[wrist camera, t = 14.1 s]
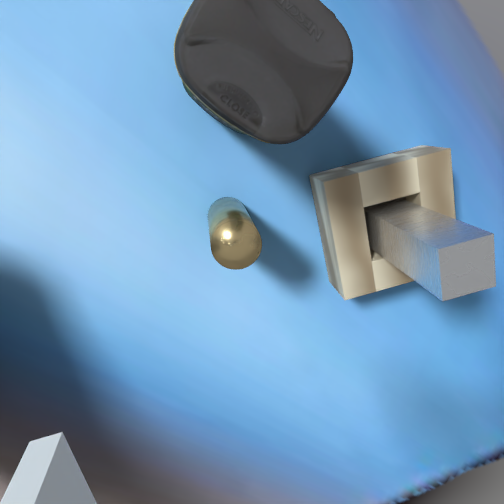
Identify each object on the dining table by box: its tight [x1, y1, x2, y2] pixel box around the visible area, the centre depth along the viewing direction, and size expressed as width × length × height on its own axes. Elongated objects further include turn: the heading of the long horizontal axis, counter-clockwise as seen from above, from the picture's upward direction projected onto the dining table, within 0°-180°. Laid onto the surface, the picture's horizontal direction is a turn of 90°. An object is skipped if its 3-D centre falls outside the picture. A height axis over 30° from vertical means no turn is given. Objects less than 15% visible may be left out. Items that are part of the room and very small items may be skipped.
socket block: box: [309, 145, 456, 300], centre depth 41 cm, size 12×12×5 cm
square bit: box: [364, 198, 496, 301], centre depth 35 cm, size 4×4×14 cm
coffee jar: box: [174, 0, 353, 144], centre depth 29 cm, size 10×8×19 cm
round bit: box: [208, 197, 262, 269], centre depth 37 cm, size 4×4×10 cm
